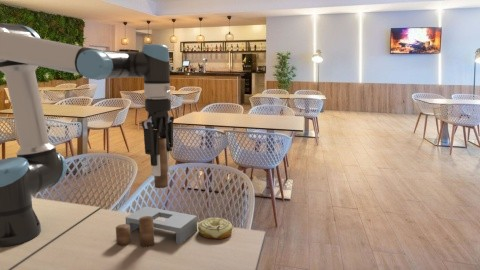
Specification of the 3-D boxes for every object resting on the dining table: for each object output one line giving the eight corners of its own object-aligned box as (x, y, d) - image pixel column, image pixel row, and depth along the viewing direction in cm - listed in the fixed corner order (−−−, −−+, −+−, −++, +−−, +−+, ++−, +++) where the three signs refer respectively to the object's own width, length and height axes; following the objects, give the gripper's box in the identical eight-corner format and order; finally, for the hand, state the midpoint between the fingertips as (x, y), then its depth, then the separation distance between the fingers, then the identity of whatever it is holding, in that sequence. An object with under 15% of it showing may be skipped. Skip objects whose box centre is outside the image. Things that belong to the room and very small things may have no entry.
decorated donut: (218, 244, 112) (218, 232, 111) (191, 235, 118) (191, 223, 117) (238, 231, 120) (238, 220, 119) (212, 223, 126) (212, 213, 125)
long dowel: (152, 187, 116) (149, 139, 113) (159, 183, 119) (157, 137, 116) (162, 188, 114) (161, 140, 111) (170, 185, 118) (168, 138, 115)
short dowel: (113, 244, 111) (112, 228, 110) (122, 238, 114) (121, 223, 114) (124, 246, 109) (123, 230, 108) (133, 241, 113) (132, 225, 112)
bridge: (126, 232, 119) (125, 217, 118) (145, 220, 128) (145, 206, 127) (180, 244, 111) (180, 228, 110) (197, 230, 120) (196, 215, 119)
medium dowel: (137, 245, 110) (136, 220, 108) (145, 240, 114) (144, 215, 112) (148, 248, 108) (147, 222, 107) (156, 242, 112) (155, 217, 111)
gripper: (151, 100, 102) (154, 182, 107) (183, 96, 118) (185, 167, 122) (128, 99, 105) (133, 179, 110) (163, 95, 121) (165, 165, 125)
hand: (160, 173), depth 116 cm, fingers closed on long dowel, 4 cm apart
